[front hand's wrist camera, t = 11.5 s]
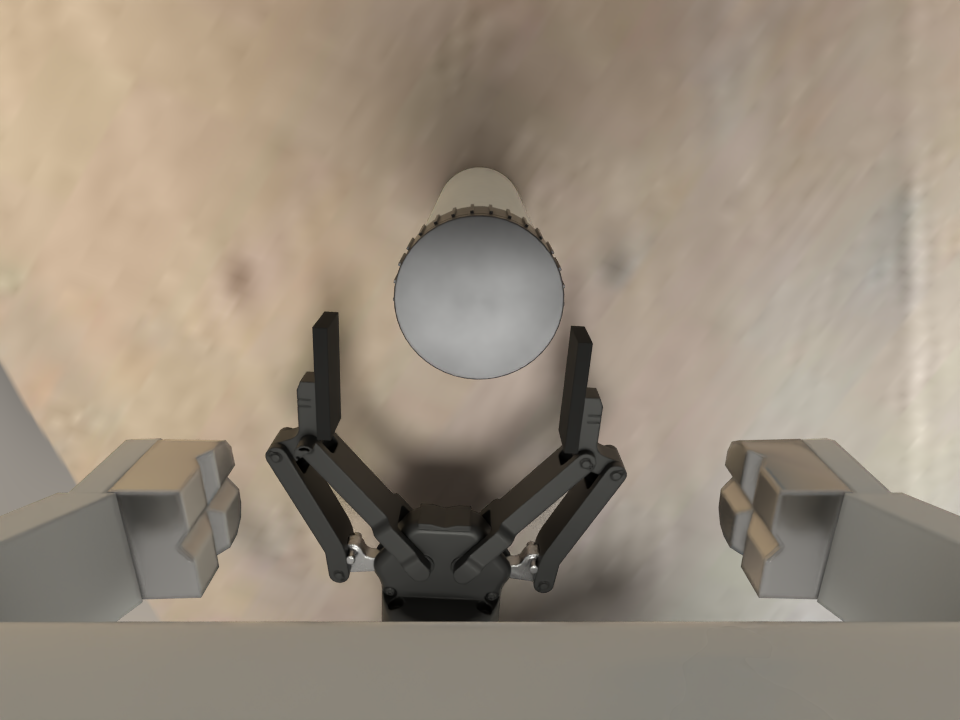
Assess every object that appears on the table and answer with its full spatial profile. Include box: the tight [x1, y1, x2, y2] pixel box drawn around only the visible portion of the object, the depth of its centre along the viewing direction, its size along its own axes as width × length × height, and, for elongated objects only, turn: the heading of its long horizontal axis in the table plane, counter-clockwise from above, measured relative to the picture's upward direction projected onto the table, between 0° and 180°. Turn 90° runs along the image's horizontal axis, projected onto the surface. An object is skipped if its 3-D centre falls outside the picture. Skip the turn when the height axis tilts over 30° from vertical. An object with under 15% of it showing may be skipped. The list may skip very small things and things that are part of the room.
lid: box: [393, 204, 565, 379], centre depth 21 cm, size 6×6×2 cm
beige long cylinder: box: [426, 167, 534, 228], centre depth 29 cm, size 5×5×19 cm
